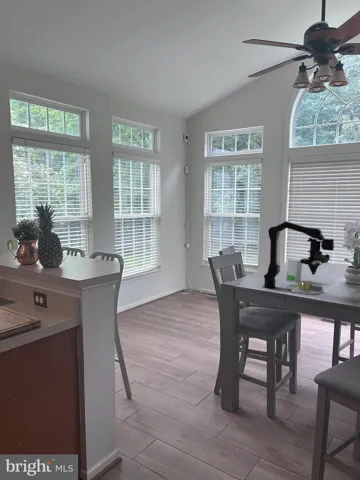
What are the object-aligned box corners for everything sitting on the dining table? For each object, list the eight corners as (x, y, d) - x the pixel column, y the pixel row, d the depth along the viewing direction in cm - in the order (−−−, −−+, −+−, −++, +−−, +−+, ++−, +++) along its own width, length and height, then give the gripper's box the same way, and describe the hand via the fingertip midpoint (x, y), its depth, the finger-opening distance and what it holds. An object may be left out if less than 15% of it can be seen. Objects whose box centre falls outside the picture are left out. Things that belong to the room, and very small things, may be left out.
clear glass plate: (305, 295, 210) (305, 288, 209) (278, 287, 229) (278, 281, 228) (330, 292, 220) (330, 285, 220) (302, 284, 239) (303, 278, 239)
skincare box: (285, 280, 252) (286, 258, 250) (291, 279, 256) (292, 258, 254) (296, 282, 245) (297, 260, 244) (301, 281, 249) (302, 259, 248)
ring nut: (295, 288, 224) (295, 282, 223) (299, 285, 230) (300, 280, 230) (320, 292, 215) (320, 286, 214) (323, 289, 221) (324, 283, 221)
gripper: (316, 251, 201) (314, 278, 203) (336, 250, 211) (334, 275, 213) (300, 249, 211) (298, 275, 213) (320, 247, 220) (319, 272, 222)
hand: (313, 274), depth 215 cm, fingers closed
